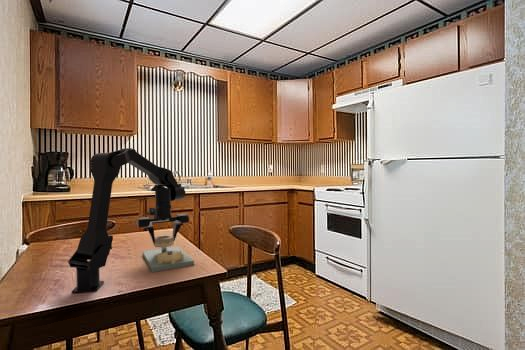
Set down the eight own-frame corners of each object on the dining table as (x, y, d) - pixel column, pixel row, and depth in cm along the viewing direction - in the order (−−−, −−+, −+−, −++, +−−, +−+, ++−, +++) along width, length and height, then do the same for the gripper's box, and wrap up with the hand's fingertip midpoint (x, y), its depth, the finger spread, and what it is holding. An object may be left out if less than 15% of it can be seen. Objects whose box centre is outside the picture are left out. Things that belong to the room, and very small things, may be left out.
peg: (166, 253, 113) (166, 243, 112) (161, 253, 112) (160, 243, 112) (167, 251, 115) (167, 241, 114) (161, 252, 114) (161, 242, 114)
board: (193, 264, 104) (193, 252, 103) (152, 272, 96) (152, 258, 96) (178, 249, 123) (178, 239, 122) (142, 255, 116) (142, 244, 115)
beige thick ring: (175, 245, 112) (175, 237, 112) (156, 248, 108) (155, 240, 108) (171, 241, 118) (170, 234, 118) (152, 244, 115) (152, 236, 114)
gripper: (181, 198, 124) (182, 235, 125) (134, 201, 115) (135, 241, 115) (189, 201, 115) (189, 240, 115) (138, 204, 105) (139, 247, 106)
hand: (163, 242), depth 113 cm, fingers closed on beige thick ring, 7 cm apart
